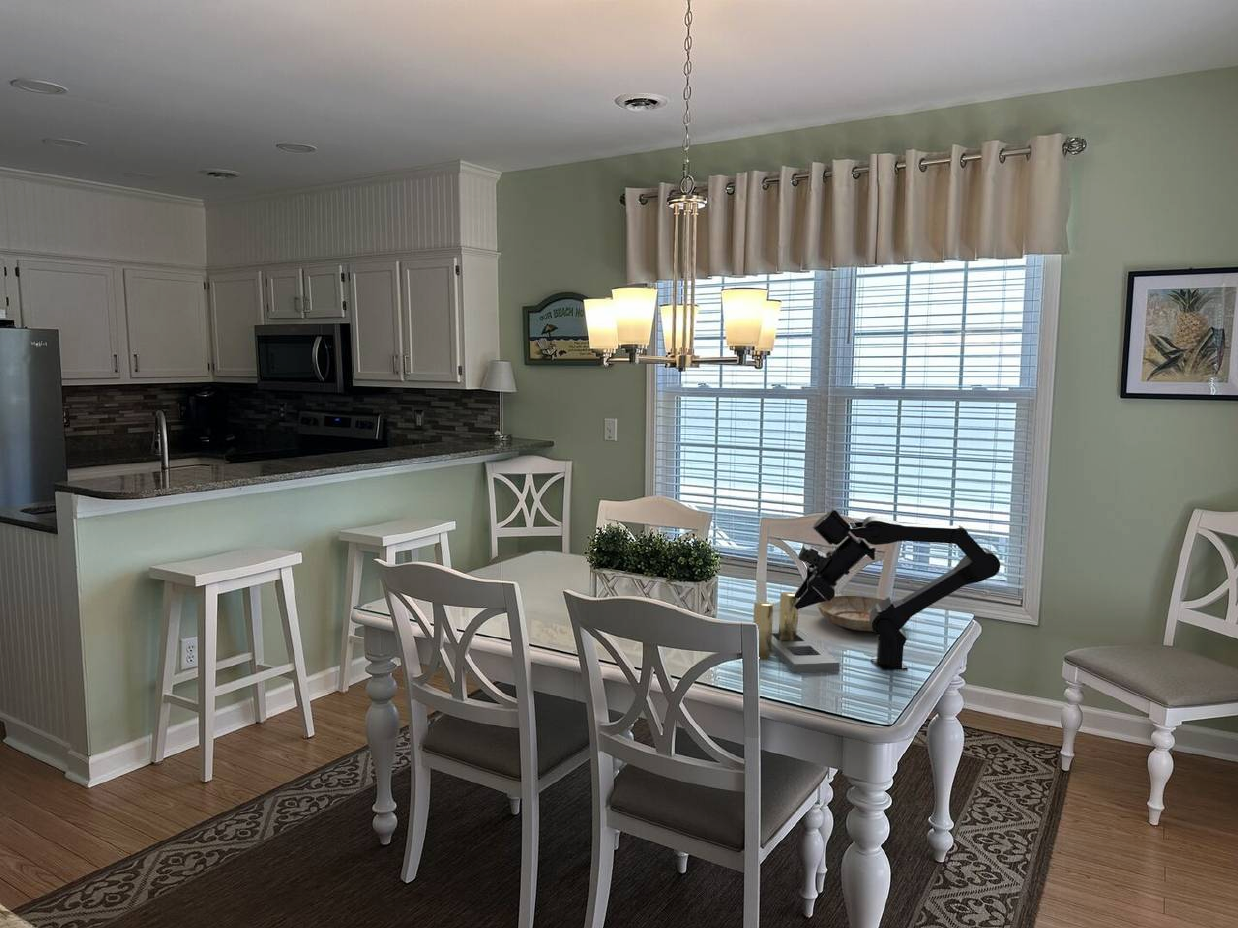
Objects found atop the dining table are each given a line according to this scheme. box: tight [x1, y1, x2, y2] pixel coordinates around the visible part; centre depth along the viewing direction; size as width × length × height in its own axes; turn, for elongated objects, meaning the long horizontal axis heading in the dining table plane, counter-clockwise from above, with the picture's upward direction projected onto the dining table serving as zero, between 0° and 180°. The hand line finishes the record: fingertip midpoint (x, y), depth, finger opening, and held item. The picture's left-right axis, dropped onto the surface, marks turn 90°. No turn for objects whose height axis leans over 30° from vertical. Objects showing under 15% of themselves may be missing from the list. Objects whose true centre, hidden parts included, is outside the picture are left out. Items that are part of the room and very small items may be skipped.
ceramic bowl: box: [817, 594, 885, 632], centre depth 233 cm, size 23×24×5 cm
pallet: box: [771, 629, 841, 674], centre depth 208 cm, size 24×11×2 cm, turn 10°
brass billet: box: [752, 601, 774, 661], centre depth 205 cm, size 4×4×13 cm
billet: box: [778, 591, 800, 642], centre depth 214 cm, size 4×4×13 cm
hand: (795, 602), depth 204 cm, fingers open, 9 cm apart
